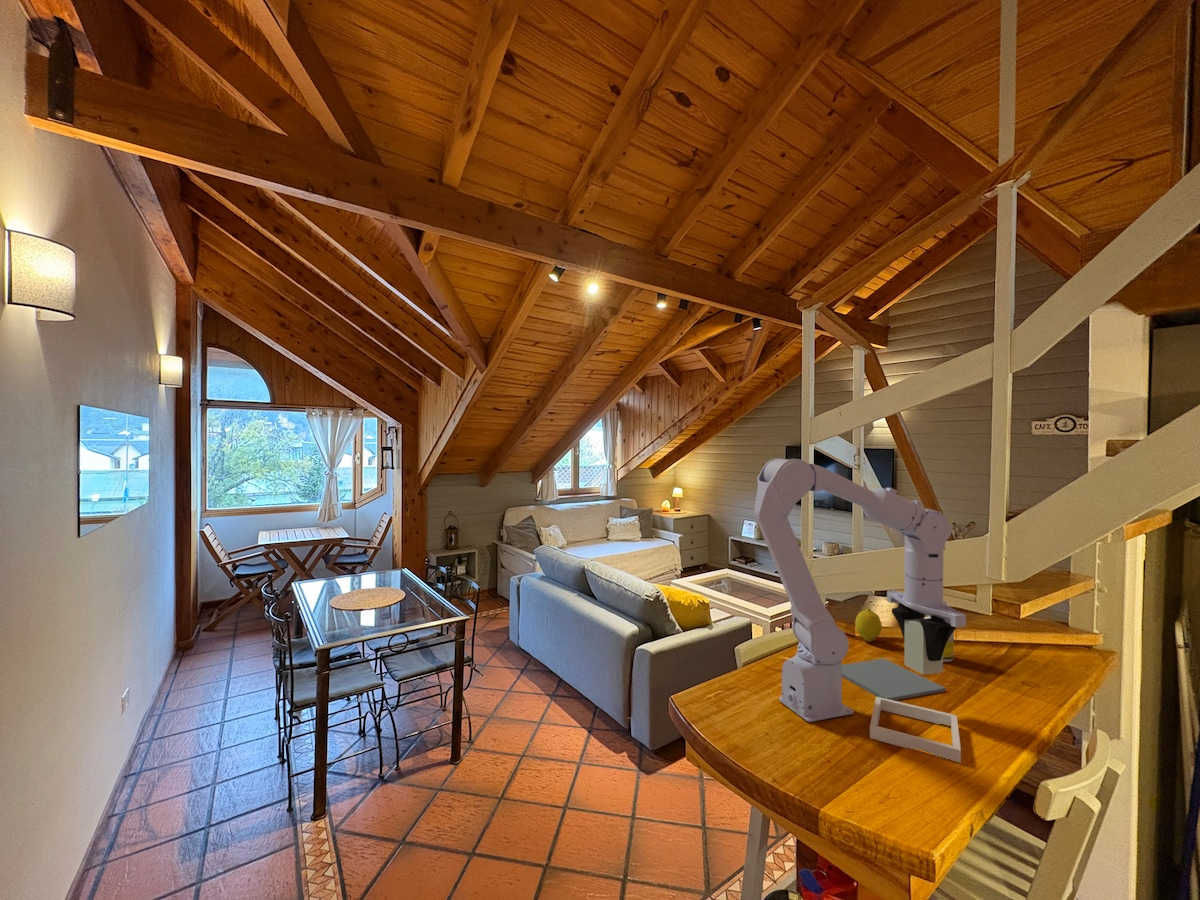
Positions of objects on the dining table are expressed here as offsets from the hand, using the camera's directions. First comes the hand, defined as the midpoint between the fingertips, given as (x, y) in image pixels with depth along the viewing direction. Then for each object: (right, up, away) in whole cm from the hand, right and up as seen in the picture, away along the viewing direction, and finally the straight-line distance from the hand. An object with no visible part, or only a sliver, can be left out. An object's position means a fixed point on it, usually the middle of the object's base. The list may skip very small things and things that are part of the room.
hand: (923, 654), depth 88 cm
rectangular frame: (-6, -9, -7) cm, 13 cm away
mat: (0, -9, +11) cm, 15 cm away
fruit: (+7, -10, +31) cm, 33 cm away
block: (0, -2, 0) cm, 2 cm away
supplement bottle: (+17, -10, +22) cm, 29 cm away
